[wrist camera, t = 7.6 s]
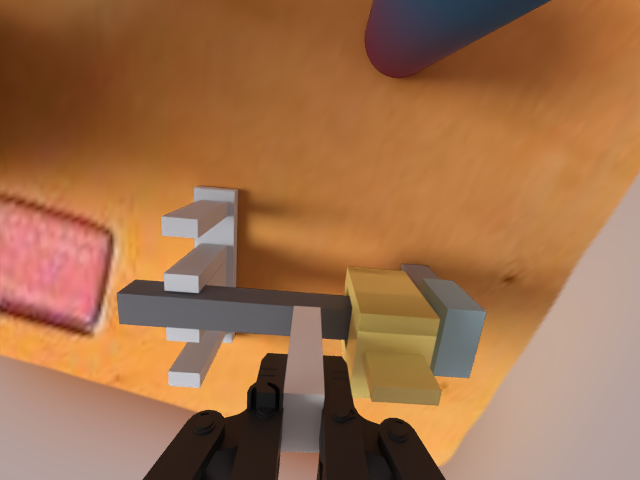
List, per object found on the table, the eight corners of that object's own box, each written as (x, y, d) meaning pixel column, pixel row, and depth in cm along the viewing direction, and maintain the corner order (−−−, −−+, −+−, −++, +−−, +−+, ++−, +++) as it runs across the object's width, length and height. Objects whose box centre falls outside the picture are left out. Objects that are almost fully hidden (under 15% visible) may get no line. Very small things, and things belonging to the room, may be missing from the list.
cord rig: (178, 331, 28) (115, 415, 19) (173, 183, 24) (92, 202, 16) (411, 347, 29) (454, 435, 20) (438, 207, 25) (505, 237, 16)
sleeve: (339, 330, 23) (354, 438, 14) (347, 266, 22) (369, 343, 13) (393, 334, 23) (440, 443, 15) (404, 271, 22) (463, 349, 13)
